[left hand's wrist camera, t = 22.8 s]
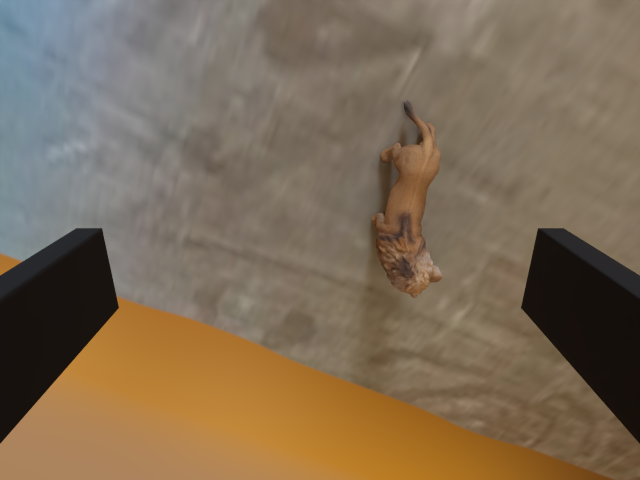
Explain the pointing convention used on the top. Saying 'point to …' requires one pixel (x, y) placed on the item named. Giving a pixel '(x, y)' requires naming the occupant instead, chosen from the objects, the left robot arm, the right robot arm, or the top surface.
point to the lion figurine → (408, 212)
